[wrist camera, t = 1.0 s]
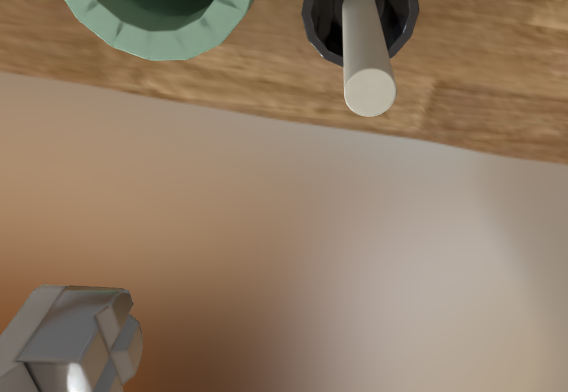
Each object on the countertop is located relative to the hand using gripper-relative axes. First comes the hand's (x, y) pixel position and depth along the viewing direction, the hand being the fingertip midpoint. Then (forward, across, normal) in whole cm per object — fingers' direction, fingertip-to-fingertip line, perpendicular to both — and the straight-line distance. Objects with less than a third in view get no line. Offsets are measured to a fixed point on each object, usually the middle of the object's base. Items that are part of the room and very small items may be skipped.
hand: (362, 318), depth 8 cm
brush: (+27, -1, 0) cm, 27 cm away
